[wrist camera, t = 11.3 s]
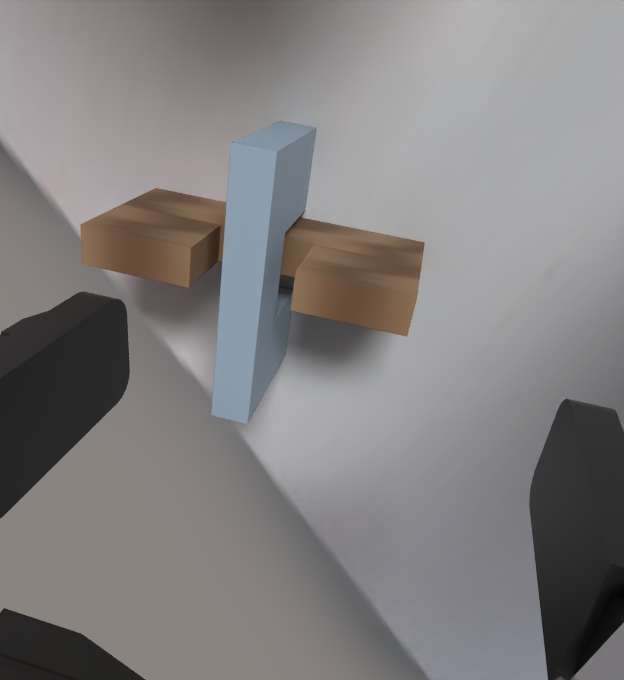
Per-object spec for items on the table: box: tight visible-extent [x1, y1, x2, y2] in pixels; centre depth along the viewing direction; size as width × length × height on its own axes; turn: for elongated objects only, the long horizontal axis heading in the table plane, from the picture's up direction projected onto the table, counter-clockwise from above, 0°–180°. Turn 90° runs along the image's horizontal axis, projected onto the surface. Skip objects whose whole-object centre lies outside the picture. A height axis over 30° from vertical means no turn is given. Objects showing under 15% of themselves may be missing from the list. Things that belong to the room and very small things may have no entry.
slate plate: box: [212, 121, 316, 424], centre depth 31 cm, size 14×2×8 cm, turn 172°
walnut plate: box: [81, 188, 424, 336], centre depth 30 cm, size 16×2×8 cm, turn 82°
